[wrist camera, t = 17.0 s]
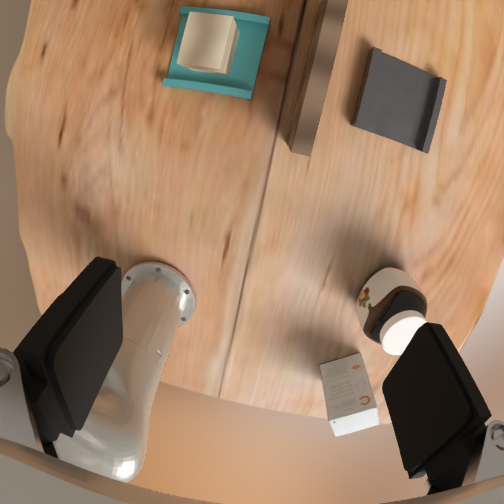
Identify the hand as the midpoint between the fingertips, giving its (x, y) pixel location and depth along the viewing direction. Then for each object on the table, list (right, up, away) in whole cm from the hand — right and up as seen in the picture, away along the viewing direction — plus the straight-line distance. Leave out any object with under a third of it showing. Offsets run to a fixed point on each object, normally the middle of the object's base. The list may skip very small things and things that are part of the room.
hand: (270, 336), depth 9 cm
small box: (+17, -19, +46) cm, 53 cm away
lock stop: (-5, +27, +24) cm, 36 cm away
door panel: (+7, +25, +25) cm, 36 cm away
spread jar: (+21, -5, +39) cm, 45 cm away
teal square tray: (-5, +27, +24) cm, 37 cm away
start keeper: (+19, +22, +25) cm, 38 cm away
